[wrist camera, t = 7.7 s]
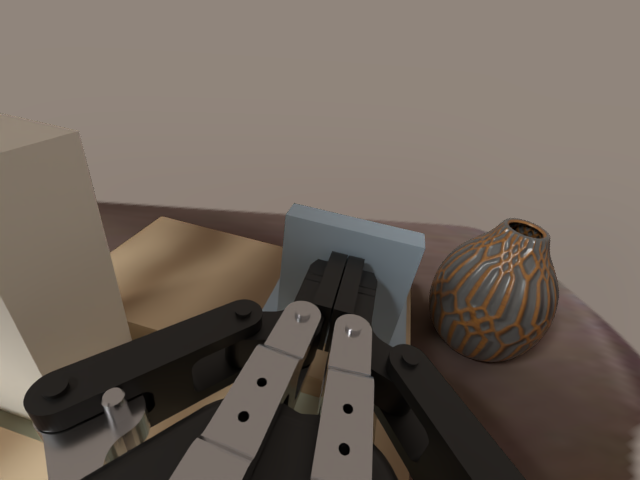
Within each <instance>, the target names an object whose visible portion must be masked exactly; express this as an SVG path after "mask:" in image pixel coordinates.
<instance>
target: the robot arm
mask: <svg viewBox="0 0 640 480" xmlns="http://www.w3.org/2000/svg"><path fill="white" fill-rule="evenodd" d="M347 257H348V255H346V254H342V253H338V252H334V251H332V253H331V255H330V258H329V260H328V261H325V260H321V259H317V260H316V261H315V262H313V263H312V264H311V265H310V267H309V269H308V271H307V274H306V276H305V278H304V280H303V282H302V285H301V287H300V289H299V291H298V294H297V296H296V298H295V300H294V302H292V303H290V304H289V305H288V306H287V307H286V308H285V309H284V310H281V311H262V308H261V306H260V305H259V304H258V303H256V302H254V301H252V300H248V299H241V300H236V301H233V302H231V303H228V304H225V305H223V306H220V307H218V308H215V309H212V310H210V311H207V312H205V313H202V314H200V315H197V316H194V317H192V318H189V319H187V320H184V321H181V322H179V323H176V324H174V325H171V326H168V327H166V328H163V329H161V330H158V331H156V332H153V333H150V334H148V335H145V336H143V337H140V338H137V339H135V340H132V341H130V342H127V343H124V344H122V345H119V346H117V347H114V348H111V349H109V350H106V351H104V352H101V353H99V354H96V355H93V356H91V357H88V358H86V359H83V360H80V361H78V362H75V363H73V364H70V365H67V366H65V367H62V368H60V369H57V370H54V371H52V372H50V373H48V374H46V375H44V376H42V377H41V378H39V379H38V380H37V381H36V382H34V383H33V384H32V385H31V387H30V388H29V389H28V390H27V392H26V394H25V396H24V400H23V406H24V408H25V410H26V412H27V413H28V415H29V417H30V418H31V420H32V422H33V426H34V428H35V430H36V432H37V433H38V435H39V436H40V438H41V440H42V441H43V443H44V450H45V458H46V465H47V473H48V480H398V478H397V476H396V474H395V472H394V470H393V468H392V467H391V465H390V463H389V462H388V460H387V459H386V457H385V456H384V454H383V453H382V452H381V451H380V450H379V449H378V448H377V447H376V446H375V445H374V444H373V412H374V413H375V414H376V416H377V418H378V420H379V421H380V423H381V425H382V426H383V428H384V430H385V432H386V433H387V435H388V437H389V439H390V440H391V442H392V444H393V446H394V447H395V449H396V451H397V453H398V454H399V456H400V458H401V459H402V461H403V463H404V465H405V466H406V468H407V470H408V472H409V473H410V475H411V477H412V479H413V480H526V479H525V478H524V477H523V475H522V474H521V473H520V472H519V470H518V469H517V468H516V467H515V465H514V464H513V463H512V462H511V461H510V459H509V458H508V457H507V456H506V454H505V453H504V452H503V451H502V449H501V448H500V447H499V446H498V444H497V443H496V442H495V441H494V439H493V438H492V437H491V436H490V435H489V433H488V432H487V431H486V430H485V428H484V427H483V426H482V425H481V423H480V422H479V421H478V420H477V418H476V417H475V416H474V415H473V413H472V412H471V411H470V410H469V409H468V407H467V406H466V405H465V404H464V402H463V401H462V400H461V399H460V397H459V396H458V395H457V394H456V392H455V391H454V390H453V389H452V387H451V386H450V385H449V384H448V383H447V381H446V380H445V379H444V378H443V376H442V375H441V374H440V373H439V371H438V370H437V369H436V368H435V366H434V365H433V364H432V363H431V361H430V360H429V359H428V358H427V356H426V355H425V354H424V353H423V352H422V351H421V350H419V349H418V348H416V347H414V346H412V345H408V344H399V345H396V346H394V347H392V346H390V345H388V344H387V343H385V342H383V341H382V340H381V339H379V338H378V337H377V336H376V334H375V333H374V331H373V329H372V317H373V310H374V303H375V296H376V289H377V282H378V281H377V279H376V277H375V274H374V273H372V272H368V271H364V270H363V266H364V261H365V259H363V258H359V257H355V256H351V255H349V257H348V261H347ZM346 262H347V264H346ZM345 266H346V268H345ZM344 270H345V271H344ZM328 330H329V332H328ZM327 334H328V336H327ZM326 337H327V341H326V345H325V350H324V351H326V352H328V356H327V360H326V365H325V369H324V374H323V380H322V386H321V392H320V397H319V403H318V409H317V414H316V415H315V414H301V413H299V412H297V411H295V410H294V408H295V405H296V402H297V400H298V398H299V395H300V393H301V390H302V388H303V385H304V383H305V380H306V378H307V375H308V373H309V371H310V368H311V365H312V362H313V360H314V358H315V355H316V352H317V349H319V350H322V351H323V347H324V344H325V340H326ZM231 384H233V385H232V387H231V388H230V390H229V391H228V393H227V395H226V396H225V398H224V399H220V400H217V401H214V402H212V403H210V404H207V405H205V406H204V407H202V408H200V409H198V410H197V411H195V412H193V413H192V414H190V415H188V416H187V417H185V418H183V419H182V420H180V421H178V422H176V423H175V424H173V425H171V426H170V427H168V428H166V429H165V430H163V431H161V432H160V433H158V434H156V435H154V436H153V437H151V438H149V439H148V440H146V441H145V439H146V438H147V436H148V434H149V431H150V428H151V427H153V426H155V425H157V424H158V423H160V422H162V421H164V420H166V419H168V418H170V417H171V416H173V415H175V414H177V413H179V412H181V411H183V410H184V409H186V408H188V407H190V406H192V405H194V404H196V403H197V402H199V401H201V400H203V399H205V398H207V397H209V396H210V395H212V394H214V393H216V392H218V391H220V390H222V389H223V388H225V387H227V386H229V385H231Z"/></svg>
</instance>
